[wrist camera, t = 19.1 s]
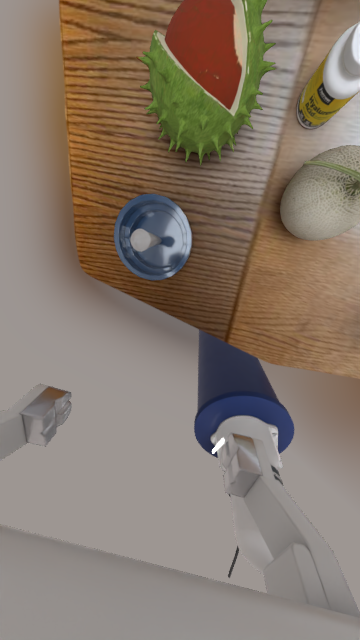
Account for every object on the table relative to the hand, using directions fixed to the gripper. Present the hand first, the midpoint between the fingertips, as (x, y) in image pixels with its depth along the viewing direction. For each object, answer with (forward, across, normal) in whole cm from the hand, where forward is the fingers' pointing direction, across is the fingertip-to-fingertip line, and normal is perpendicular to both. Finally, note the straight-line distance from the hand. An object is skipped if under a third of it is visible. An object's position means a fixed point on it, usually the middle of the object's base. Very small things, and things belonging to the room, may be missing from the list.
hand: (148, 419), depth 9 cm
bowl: (+31, +7, -7) cm, 33 cm away
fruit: (+31, -15, -18) cm, 39 cm away
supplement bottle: (+31, -12, -29) cm, 44 cm away
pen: (+30, +7, -7) cm, 32 cm away
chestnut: (+31, +4, -25) cm, 40 cm away
